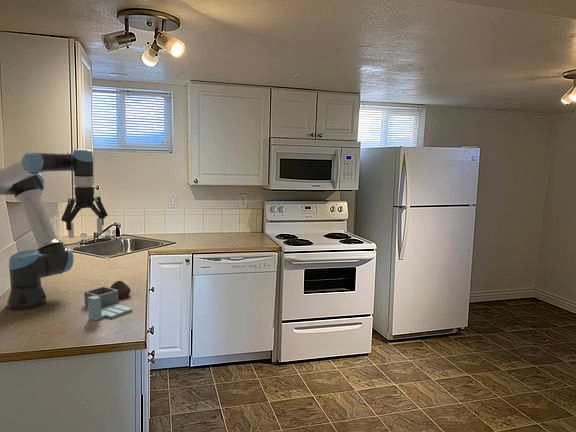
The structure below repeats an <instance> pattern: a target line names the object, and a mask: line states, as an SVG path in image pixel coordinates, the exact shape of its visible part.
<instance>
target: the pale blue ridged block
mask: <svg viewBox="0 0 576 432" xmlns="http://www.w3.org/2000/svg"><path fill="white" fill-rule="evenodd" d="M87 309H88V310H87V311H88V319H90V320H94V321H97V320H100V319H102V318H106V317H107V318H109V319H114V318H116V316H117V317H119V316H122V315H124V313H125V314H127V313H129V311H130V312H132V311H133V310H134V309H133V307H130V306H125V305H122V304H119V303H117V304H113V305H109V306H107V307H104V308H101V297H98V296H91V297H88V306H87ZM126 312H127V313H126ZM121 314H122V315H121ZM118 315H119V316H118ZM113 317H114V318H113Z"/></svg>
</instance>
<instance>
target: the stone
mask: <svg viewBox="0 0 576 432" xmlns="http://www.w3.org/2000/svg"><path fill="white" fill-rule="evenodd" d="M109 288H112V289H116V290H118V299H120V300H125V299H127V298H128V297H129V295H130V293H131V287H129V286H128V285H127V284H126V283H125V282H124V281H122V280H117V281H114V283H112V285H111V286H110V287H109Z"/></svg>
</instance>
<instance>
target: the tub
mask: <svg viewBox="0 0 576 432" xmlns="http://www.w3.org/2000/svg"><path fill="white" fill-rule="evenodd" d="M91 296H98V297H101V308H104V307H107V306H109V305H113V304H119V298H118V290H116V289H112V288H110V287H107V286H100V287H97V288H93V289H90V290H87V291H84V306H87V307H88V297H91Z"/></svg>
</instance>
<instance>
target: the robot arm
mask: <svg viewBox="0 0 576 432" xmlns="http://www.w3.org/2000/svg"><path fill="white" fill-rule="evenodd" d="M93 153H94V152H93V150H91V149H80V148H79V149H73V151H72V153H70V152H56V153H55V152H53V153H49V152H48V153H47V152H32V153H31V152H30V153H25V154H24V155H23V157H22V159H21V160H20V161H18V162H16V163H13V164H11V165H10V166H7V167H5V168H0V195H2V196H14V197H15V200H16V201H17V202H20V203H21V206H22V207H23V211H24V213H25V216H26V219H27V222H28V224H29V226H30V228H31V229H30V230H31V232H32V234H33V237H34V240H35V242H36V245H37V249H28V250H27V249H26V250H23V251H18V252H16V253H14V254H12V255H11V256H10V257H9V259H8V269H9V279H10V281H9V282H10V292H9V294H8V297H7V301H6V302H7V308H8V309H10V310H28V309H34V308H38V307H41V306H43V305H45V304H46V303H47V301H48V300H47V295H46V293H45V291H44V289H43V287H42V278H47V277H51V276H56V275H61V274H64V273H67V272H69V271H70V270H72V268H73V265H74V261H75V259H74V258H75V257H74V253H73V251H72V249H71V248H70V247H68V246H65V245H64V243H63V242H62V241H60V240H58V237H57V234H56V232H55V230H54V227H53V225H52V222H51V220H50V218H49V214H48V212H47V209H46V206H45V204H44V201H43V199H42V196H43V191H44V189H45V179H44V177H43V175H42V174H41V173H44V172H45V173H46V172H73V176H74V177H73V178H74V182H73V184H74V195H75V198H68V199H67V205H66V207H65V210H64V211H63V214H62V216H61V222H65V226H66V227H65V228H66V230H67V232H68V238H70V239H74V238H75V232H74V231H75V229H74V228H75V226H74V222H73V221H74V219H75V217H76V216H77V214H78V213H79V212H80V210H82V209H86V208H87V209H89V208H90V209H91V211H92V212H93V213H94V214H95V215H96V216H97V217H96V233H97V234H103V226H104V220H105V219H106V217H108V215H109V214H108V213H107V211H106V208H105V207H104V204H103V203H102V198H101V196H96V195H95V187H94V184H95V181H94V179H95V177H94V173H95V172H94V160H95V159H94V155H93ZM94 202H95V203H94Z"/></svg>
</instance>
